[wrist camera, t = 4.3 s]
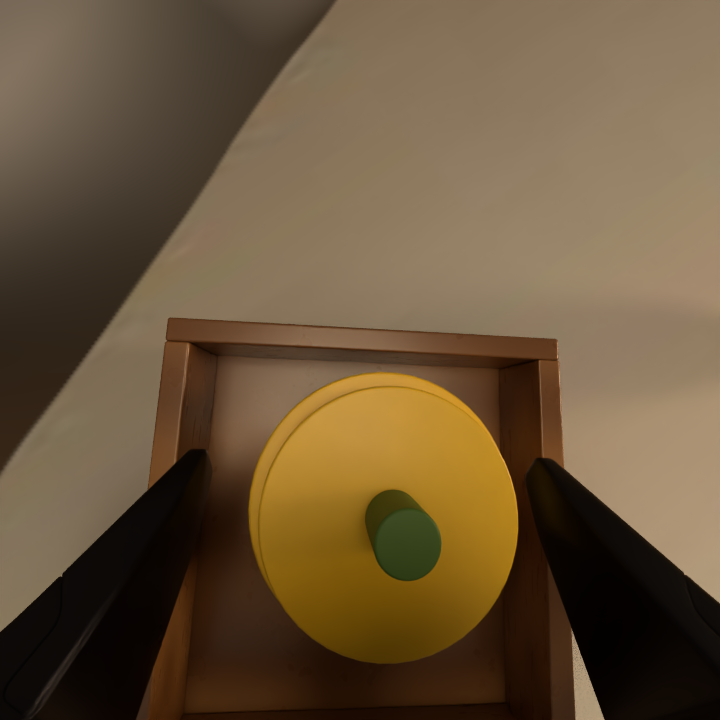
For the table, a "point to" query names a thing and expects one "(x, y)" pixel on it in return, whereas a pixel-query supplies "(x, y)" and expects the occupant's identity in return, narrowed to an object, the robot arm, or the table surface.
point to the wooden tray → (246, 583)
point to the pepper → (383, 517)
